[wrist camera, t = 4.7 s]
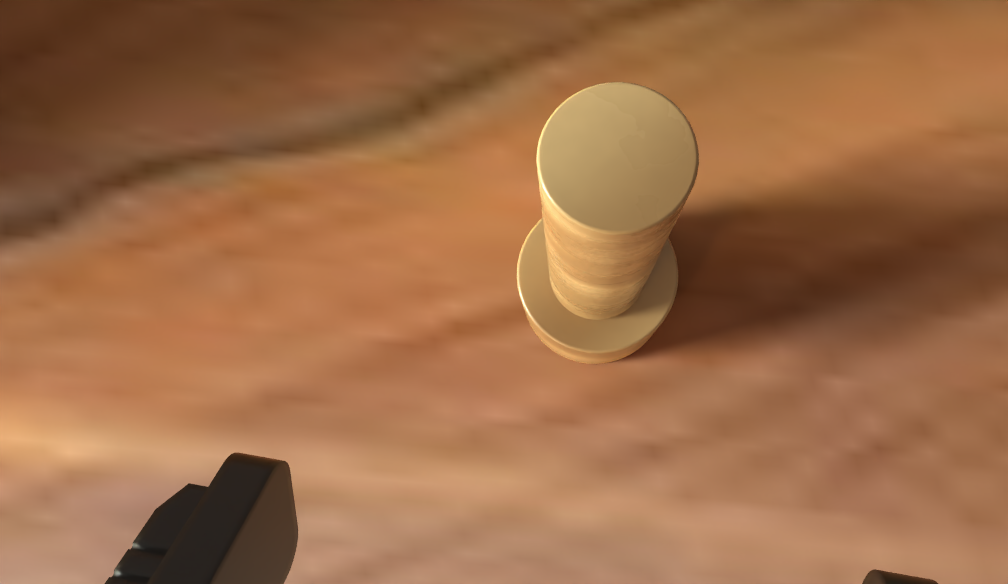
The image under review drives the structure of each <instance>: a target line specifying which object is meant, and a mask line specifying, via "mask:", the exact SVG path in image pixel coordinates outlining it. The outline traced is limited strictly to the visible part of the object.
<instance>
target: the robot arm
mask: <svg viewBox="0 0 1008 584" xmlns="http://www.w3.org/2000/svg"><path fill="white" fill-rule="evenodd" d="M297 540H298V525H297V517H296V510H295V503H294V496H293V489H292V481H291V474H290V468H289V465H288V463H287V462H285V461H281V460H276V459H270V458H265V457H259V456H254V455H248V454H243V453H233V454H231V455H230V456H229V457H228V458H227V459H226V460H225V462H224V463H223V465H222V466H221V468H220V469H219V471H218V473H217V474H216V476H215V477H214V479H213V480H212V482H211V484H210V485H209V487H205V486H200V485H195V484H188V485H186V486H185V487H184V488H183V489H181V490H180V491H179V492H177V493H176V494H175V495H174V496H172V497H171V498H170V499H168V500H167V501H166V502H165V503H163V504H162V505H161V506H159V507H158V508H157V509H156V510H155V511H154V513H153V514H152V515H151V517H150V518H149V520H148V521H147V523H146V524H145V526H144V527H143V529H142V530H141V532H140V533H139V534H138V536H137V537H136V539H135V540H134V542H133V546H132V548H131V550H129V549H128V551H127V552H126V553H125V555H124V556H123V558H122V559H121V561H120V562H119V564H118V565H117V567H116V568H115V570H114V575H113V576H112V577H109V578H108V580H107V581H106V583H105V584H284V582H285V579H286V577H287V575H288V573H289V571H290V568H291V565H292V562H293V559H294V555H295V552H296V547H297ZM862 584H938V583H937V582H936V581H934V580H930V579H925V578H919V577H914V576H908V575H903V574H897V573H892V572H886V571H880V570H872V571H870V572H869V573H868V574H867V576H866V578H865V579H864V581H863V583H862Z"/></svg>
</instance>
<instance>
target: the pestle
mask: <svg viewBox="0 0 1008 584" xmlns="http://www.w3.org/2000/svg"><path fill="white" fill-rule="evenodd" d="M698 165H699V153H698V145H697V141H696V137H695V134H694V132H693V129H692V127H691V125H690V123H689V122H688V120H687V118H686V117H685V115H684V114H683V113H682V112H681V110H680V109H679V108H678V107H677V106H676V105H675V104H674V103H673V102H672V101H670V100H669V99H668V98H666V97H665V96H664V95H662V94H660V93H658V92H657V91H655V90H653V89H650V88H648V87H645V86H642V85H638V84H633V83H626V82H611V83H603V84H598V85H594V86H591V87H589V88H586V89H583V90H581V91H579V92H578V93H576V94H574V95H572V96H571V97H569V98H568V99H567V100H565V101H564V102H563V103H562V104H561V105H560V106H559V107H558V108H557V109H556V110H555V111H554V112H553V113H552V115H551V116H550V118H549V119H548V121H547V122H546V124H545V126H544V128H543V130H542V133H541V136H540V139H539V143H538V148H537V171H538V180H539V188H540V197H541V206H542V215H543V218H542V219H541V220H539V222H538V223H537V224H536V225H535V226H534V227H533V228H532V230H531V231H530V233H529V235H528V236H527V238H526V240H525V242H524V244H523V246H522V249H521V252H520V255H519V260H518V265H517V284H518V290H519V295H520V298H521V301H522V304H523V307H524V310H525V313H526V316H527V319H528V321H529V323H530V325H531V327H532V329H533V331H534V332H535V333H536V335H537V336H538V338H539V339H540V340H541V341H542V342H543V343H544V344H545V345H546V346H548V347H549V348H550V349H551V350H553V351H554V352H556V353H557V354H559V355H561V356H563V357H565V358H567V359H570V360H573V361H576V362H581V363H588V364H601V363H608V362H613V361H616V360H619V359H622V358H624V357H626V356H628V355H630V354H632V353H634V352H635V351H636V350H638V349H639V348H641V347H642V346H643V345H644V344H645V343H646V342H647V341H648V340H649V338H650V337H651V336H652V335H653V334H654V332H655V331H656V330H657V329H658V327H659V326H660V325H661V324H662V322H663V321H664V319H665V318H666V316H667V315H668V313H669V311H670V309H671V307H672V305H673V303H674V299H675V296H676V292H677V286H678V265H677V259H676V255H675V252H674V249H673V247H672V244H671V242H670V240H669V238H668V237H669V235H670V233H671V231H672V229H673V227H674V225H675V223H676V221H677V219H678V217H679V214H680V212H681V210H682V208H683V206H684V204H685V202H686V200H687V198H688V196H689V194H690V192H691V190H692V188H693V185H694V183H695V179H696V176H697V171H698Z"/></svg>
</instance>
